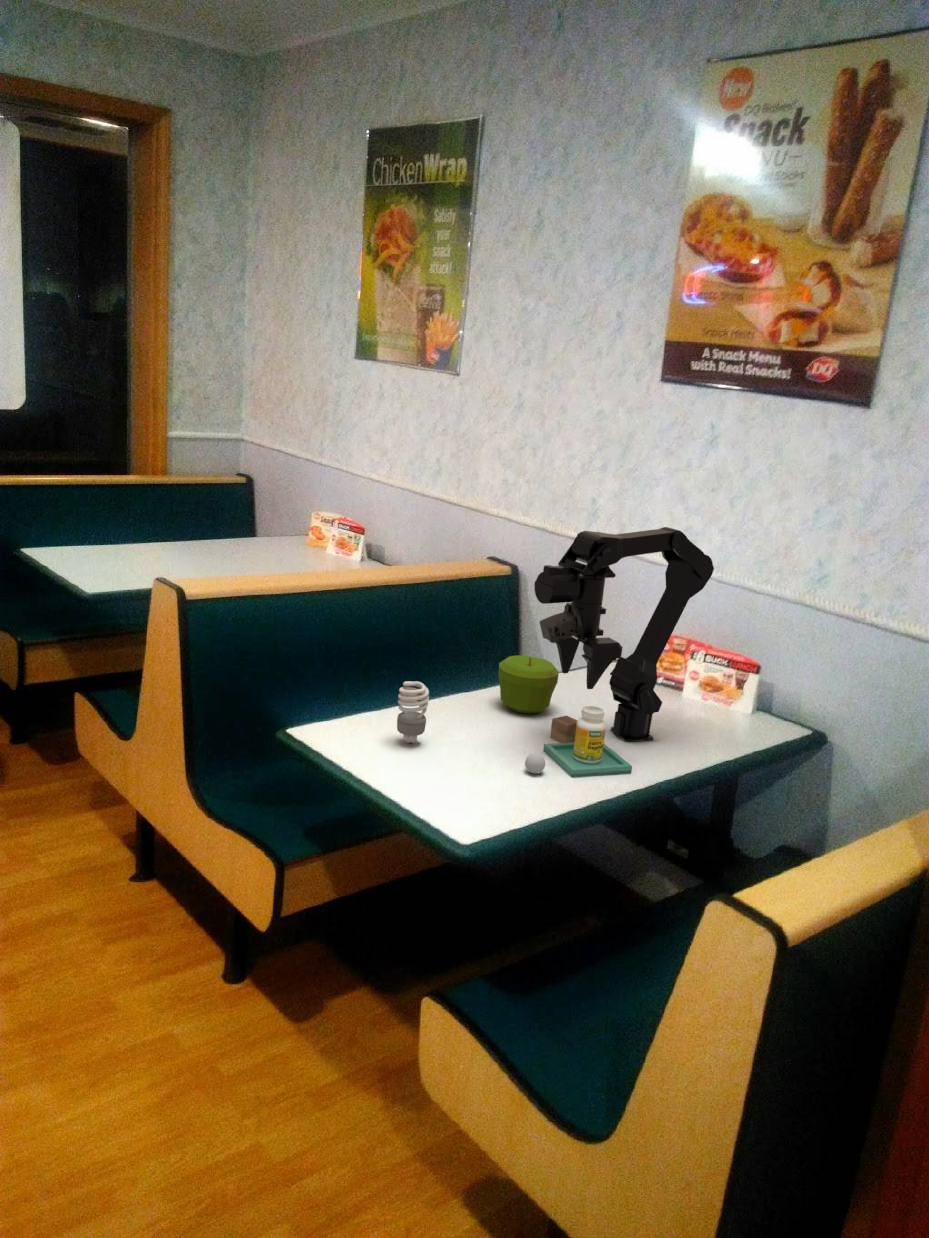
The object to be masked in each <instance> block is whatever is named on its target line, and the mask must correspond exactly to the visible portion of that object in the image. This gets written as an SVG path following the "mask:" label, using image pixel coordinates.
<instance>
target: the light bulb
mask: <svg viewBox="0 0 929 1238" xmlns="http://www.w3.org/2000/svg"><path fill="white" fill-rule="evenodd" d="M402 685H403V686H402V687H400V688H399V693H398V695H397V697H398V700H397V704H398V705H399V706H398V709H399V711H401V712H400V713H398V715H397V719H396V729H397V731H398V732H399V733H400V735H403V737H402V738H403V740H404V741H405V742H406V743H407V744H412V743H415V742H416V741H417V739H418V736H420V735H421V736H422V734H424V733H425V730H426V725H427V717H426V716H425V713H426V712H427V709H428V708H427V707H428V705H429V700H430V690H429V688H428V687H427V686H426V685H425V684H424V683H422V682H421V681H417V680H416V681H409V680H408V681H404V682H403V683H402ZM410 707H411V708H410Z"/></svg>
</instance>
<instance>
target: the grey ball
mask: <svg viewBox="0 0 929 1238" xmlns="http://www.w3.org/2000/svg"><path fill="white" fill-rule="evenodd" d="M524 760H525V761H524V767H525V769H526V770H527V772H529V773H531V774H539V773H541V772H543V771H544V770H545V767H546V760H545V758H544V755H542V754H540V753H539V752H532V753H530V754H528V755H527V756H526V757H525V759H524Z"/></svg>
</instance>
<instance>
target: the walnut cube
mask: <svg viewBox="0 0 929 1238" xmlns="http://www.w3.org/2000/svg"><path fill="white" fill-rule="evenodd" d="M578 720H579V719H575V718H573V717H571V716H569V715H567V714H566V715H562V716H559V717H554V718H551V726H550V727H551V728H550V736H549V738H550V739H552V740H554V741H557V743H570V742H575V734H576V726H577V721H578Z"/></svg>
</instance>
